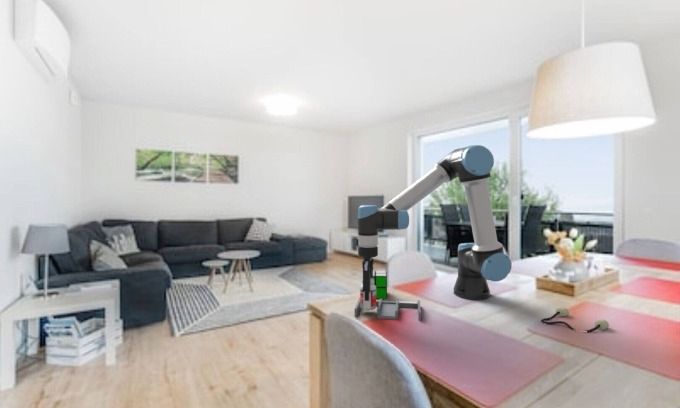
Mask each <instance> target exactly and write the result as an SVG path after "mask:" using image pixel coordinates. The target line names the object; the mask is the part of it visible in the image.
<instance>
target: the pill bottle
mask: <svg viewBox="0 0 680 408" xmlns="http://www.w3.org/2000/svg"><path fill="white" fill-rule="evenodd" d="M361 283H362V284H361V285H360V288H359V298H360V307H361V308H360V309H362V310H365V311H373V310H375V309H376V308H377V305H376V300H377V299H376V286H375V285H374V279H373V278H371V281H370V290H371V309H364V307H363V292H361V290H363V278H361Z"/></svg>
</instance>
